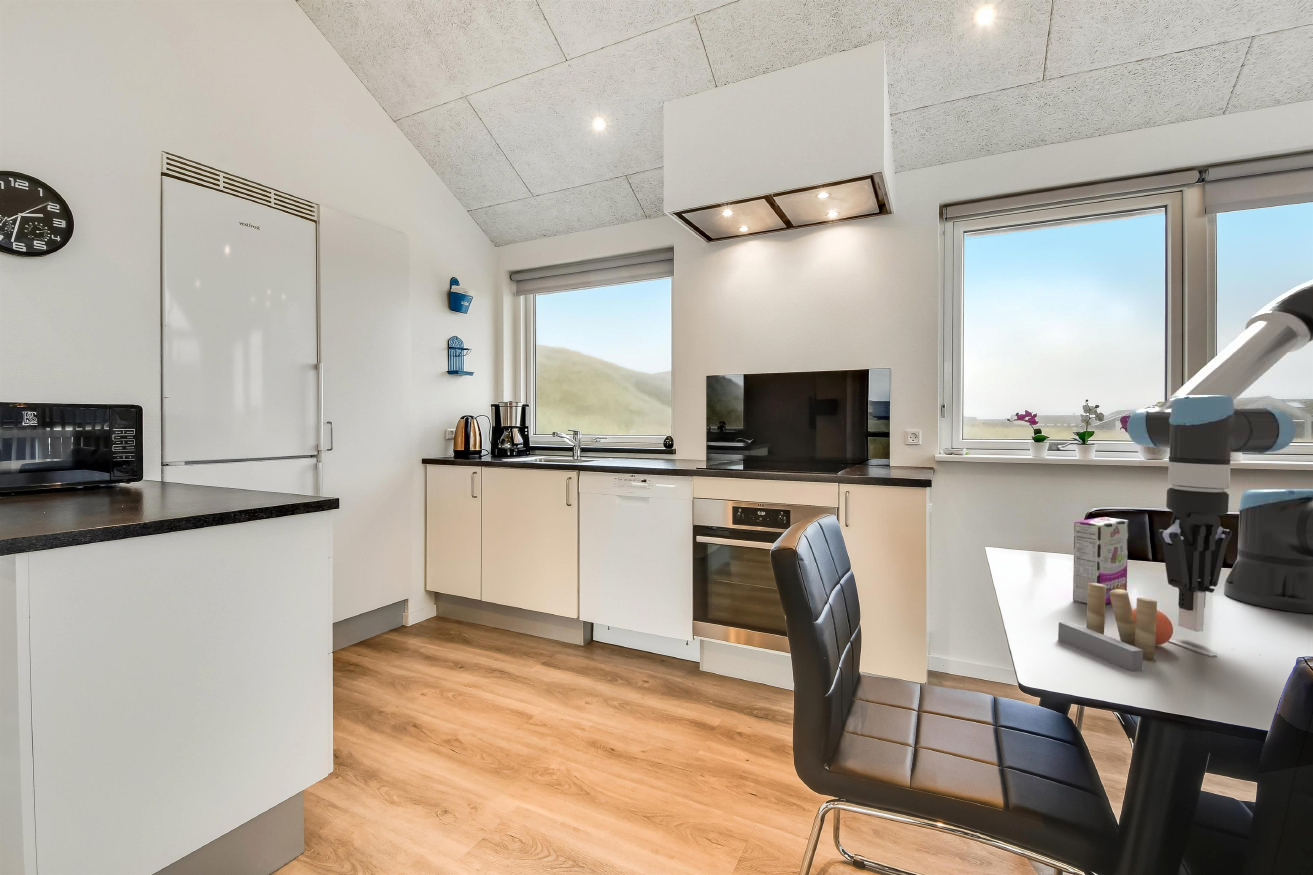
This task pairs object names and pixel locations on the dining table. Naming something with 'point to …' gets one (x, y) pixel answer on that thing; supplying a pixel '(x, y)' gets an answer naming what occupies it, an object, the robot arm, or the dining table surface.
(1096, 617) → the back pin right
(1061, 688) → the dining table surface
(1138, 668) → the rail
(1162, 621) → the ball
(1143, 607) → the back pin left
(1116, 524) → the candy bar box
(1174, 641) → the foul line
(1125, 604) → the front pin
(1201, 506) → the robot arm
